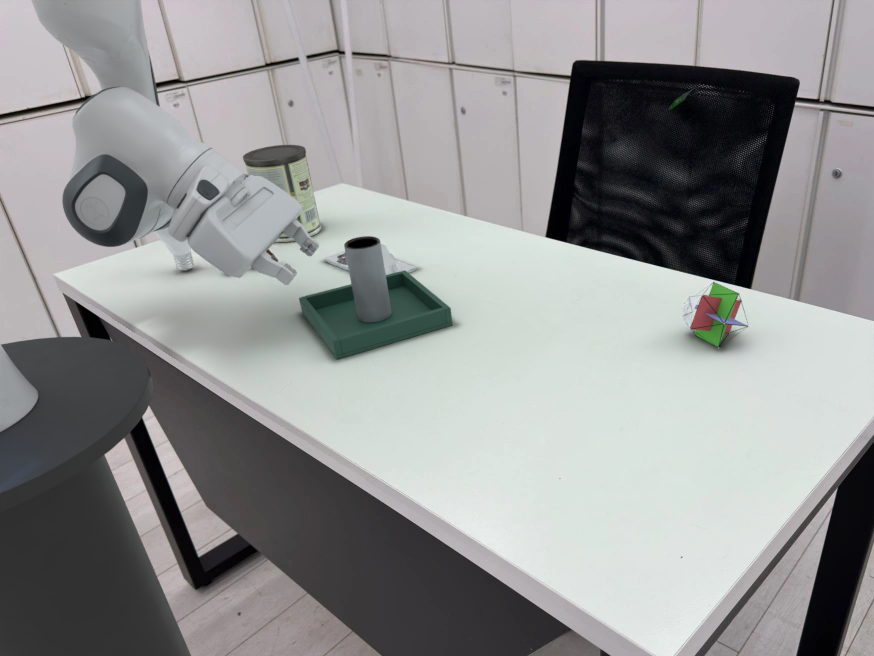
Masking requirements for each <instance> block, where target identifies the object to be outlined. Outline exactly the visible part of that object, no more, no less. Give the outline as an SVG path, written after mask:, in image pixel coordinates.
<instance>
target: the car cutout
mask: <svg viewBox="0 0 874 656" xmlns="http://www.w3.org/2000/svg"><path fill="white" fill-rule="evenodd" d="M381 249H382V255H383V261H384V267H385V273H386V275H389V274H392V273H396V272H400V271H404V270H405V271H407V272H408V273H409V274H410V273H412V272H415V271H417V270H418V269H417V266H414V265H412V264H409V263H407V262H403V261H401V260H397V259H395V256H394V255H393V254H392V253H390V252H389V249H388V247H387V246H386V245H385V244H383V243H381ZM324 262H325V263H328V264H330V265H333V266H334V267H338V268H340V269H343V270H345V271H348V272H349V269H348V263H347V258H346V253H345V251H341V252H340V253H336V254H334V255H331V256H329V257H326V258H324Z"/></svg>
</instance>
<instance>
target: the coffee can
mask: <svg viewBox="0 0 874 656" xmlns="http://www.w3.org/2000/svg"><path fill="white" fill-rule="evenodd" d="M306 154H307V150H306V147H304V146H303V145H299V144H279V145H278V144H277V145H271V146H270V145H269V146H264V147H259V148H257V149H254V150H250V151H248V152H247V153H245V154H243V156H242V160H243V163H244V164H245V168H246V174H247V175H253V176H261V177H263V178H265V179H267V180H269V181H270V182H272V183H273V184H275V185H276V186H278V187H279V188H281V189H282V190H284V191H285V192H286V193H288V194H289V195H290V196H292V197H293V198H294V199H296V200H297V201H298V202H299V204H300V205H301V207H302V209H303V210H302V212H301V213H300V215H299V216H298V217H297V219H296V220H297V221H299V222H300V223H301V224H302V225H303V226H304V228H305V229H306V231H307V232H308V234H309V235H310V237H311V238H312V237H313V236H316V234H318V233H319V232H321V230H322V225H321V222H320V217H319V212H318V208H317V202H316V197H315V192H314V188H313V183H312V178H311V173H310V169H309V163H308V159H307V155H306ZM288 242H290V243H291V242H296V241H295V240H294V239H293V238H289V237H288V236H287V235H285V234H284V233H283V234H282V235H281V236H280V237H279V238H278V240H277V241H276V242H275V243H288Z"/></svg>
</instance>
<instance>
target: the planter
mask: <svg viewBox="0 0 874 656" xmlns="http://www.w3.org/2000/svg"><path fill="white" fill-rule="evenodd" d="M381 244H382V243H381V240H380V238H379V237H376V236H370V235H365V236H364V235H363V236H356V237H353V238H350V239H349V240H347V241H346V242H345V243H344V245H343V247H344V252H345V253H346V258H347V263H348V269H349V271H348V273H349V278H350V284H352V290H353V295H354V300H355V306H356V311H357V316H358V319H359V320H360V321H362V322H367V323H374V322H380V321H383V320H385V319H387V318H389V317H390V316H391V314H392V312H391V304H390V298H389V292H388V286H387V280H386V273H385V267H384V261H383V255H382V249H381Z"/></svg>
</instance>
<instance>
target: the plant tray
mask: <svg viewBox="0 0 874 656" xmlns="http://www.w3.org/2000/svg"><path fill="white" fill-rule="evenodd" d="M386 280H387V286H388V292H389V298H390V304H391V312H392V314H391V316H390V317H389V318H387V319H385V320H383V321H380V322H374V323H367V322H362V321H360V320H359V319H358V316H357V311H356V306H355V300H354V295H353V290H352V284H351V283H350V284H347V285H342V286H338V287H335V288H331V289H327V290H323V291H319V292H316V293H315V292H314V293H312V294H311V293H310V294H308V295H304V296H300V297H298V301H299V306H300V309H301V314H302V315H303V317H304V318H305V319H306V320H307V322H308V324H310V326H311V327H312V329H313V330H314V331H315V332H316V334H317V335H318V337H319V338H320V339H321V340H322V341H323V343H324V344H325V346H326V347H327V348H328V349H329V351H330V352H331V354H332V355H333V356H334V358H335V359H336V360H339V359H344V358H347V357H350V356H353V355H357V354H360V353H364V352H367V351H370V350H373V349H377V348H380V347H383V346H387V345H390V344H394V343H397V342H400V341H404V340H407V339H411V338H414V337H418V336H421V335H425V334H427V333H431V332H434V331H438V330H441V329H445V328H447V327H450V326H453V315H452V309H451V307H450V306H449V305H448V304H447V303H445V302H444V301H443V300H442V299H440V298H439V297H438V296H437V295H436V294H435V293H433V292H432V291H431V290H430V289H429V288H428V287H426V285H425V286H424V284H423V283H421V282H420V281H419V280H417V279H416V278H415V277H414V276H413V275H411V274H410V273H408V272H407V271H405V270H404V271H400V272H396V273H392V274H389V275H386Z"/></svg>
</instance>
